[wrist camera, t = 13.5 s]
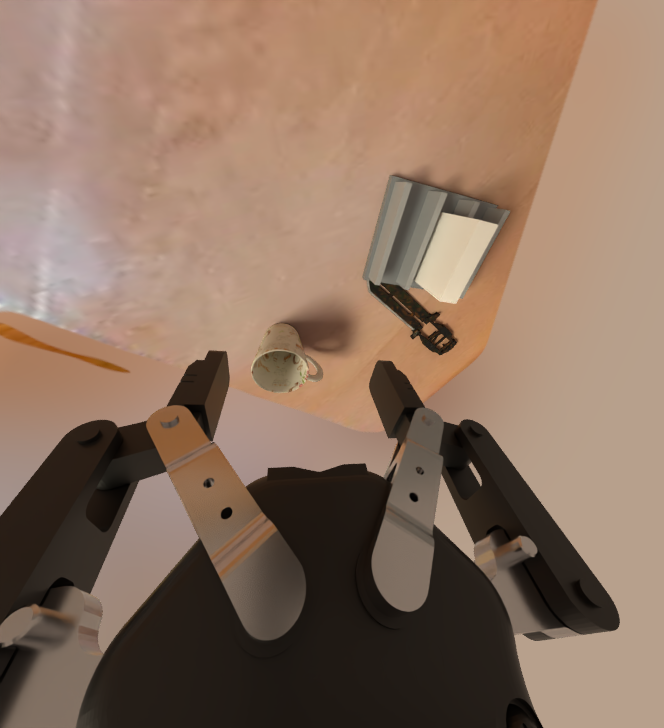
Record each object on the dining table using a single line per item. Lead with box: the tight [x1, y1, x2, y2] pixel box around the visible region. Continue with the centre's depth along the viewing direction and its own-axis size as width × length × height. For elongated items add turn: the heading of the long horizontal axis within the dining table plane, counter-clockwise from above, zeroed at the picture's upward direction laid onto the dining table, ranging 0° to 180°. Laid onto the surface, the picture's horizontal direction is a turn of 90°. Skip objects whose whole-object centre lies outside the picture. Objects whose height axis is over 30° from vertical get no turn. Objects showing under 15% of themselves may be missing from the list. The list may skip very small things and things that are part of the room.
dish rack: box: [362, 176, 510, 299], centre depth 34 cm, size 16×13×4 cm
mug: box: [251, 323, 323, 393], centre depth 39 cm, size 8×13×10 cm, turn 56°
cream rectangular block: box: [413, 212, 498, 304], centre depth 31 cm, size 2×9×10 cm, turn 168°
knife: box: [367, 280, 457, 355], centre depth 43 cm, size 25×6×1 cm, turn 45°
